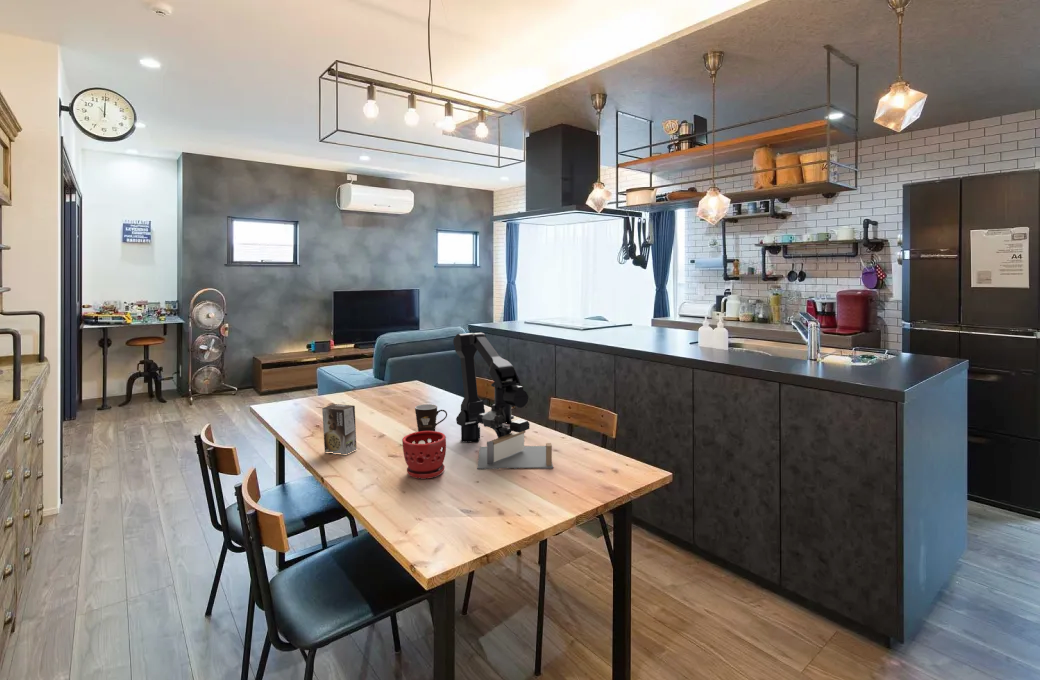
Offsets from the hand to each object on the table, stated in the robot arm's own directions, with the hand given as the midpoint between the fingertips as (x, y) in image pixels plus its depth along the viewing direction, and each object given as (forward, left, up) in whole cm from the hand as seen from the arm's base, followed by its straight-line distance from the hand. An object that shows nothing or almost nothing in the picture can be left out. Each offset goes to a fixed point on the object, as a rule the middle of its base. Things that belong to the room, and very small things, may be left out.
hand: (502, 446), depth 188 cm
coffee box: (-56, +6, -3) cm, 56 cm away
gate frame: (+4, -2, -3) cm, 6 cm away
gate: (+1, -4, -2) cm, 5 cm away
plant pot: (-24, -16, -3) cm, 29 cm away
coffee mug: (-28, +28, -3) cm, 39 cm away
